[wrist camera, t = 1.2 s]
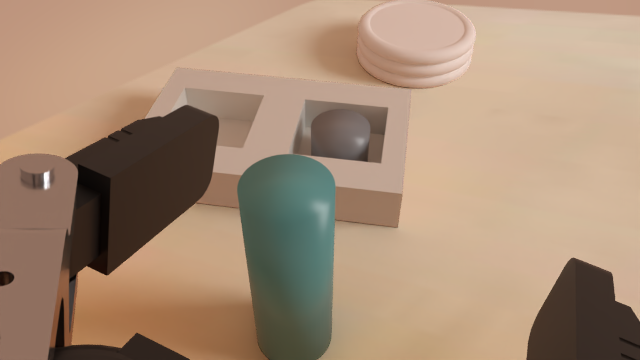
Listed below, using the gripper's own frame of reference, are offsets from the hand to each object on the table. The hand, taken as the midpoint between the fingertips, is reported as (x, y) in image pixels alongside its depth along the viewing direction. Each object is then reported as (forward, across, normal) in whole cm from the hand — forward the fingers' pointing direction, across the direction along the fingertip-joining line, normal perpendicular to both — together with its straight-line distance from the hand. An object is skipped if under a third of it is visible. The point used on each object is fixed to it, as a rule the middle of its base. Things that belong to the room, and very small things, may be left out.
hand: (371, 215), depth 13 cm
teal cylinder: (+12, +4, +16) cm, 20 cm away
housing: (+24, +11, +14) cm, 29 cm away
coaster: (+40, +6, +9) cm, 41 cm away
